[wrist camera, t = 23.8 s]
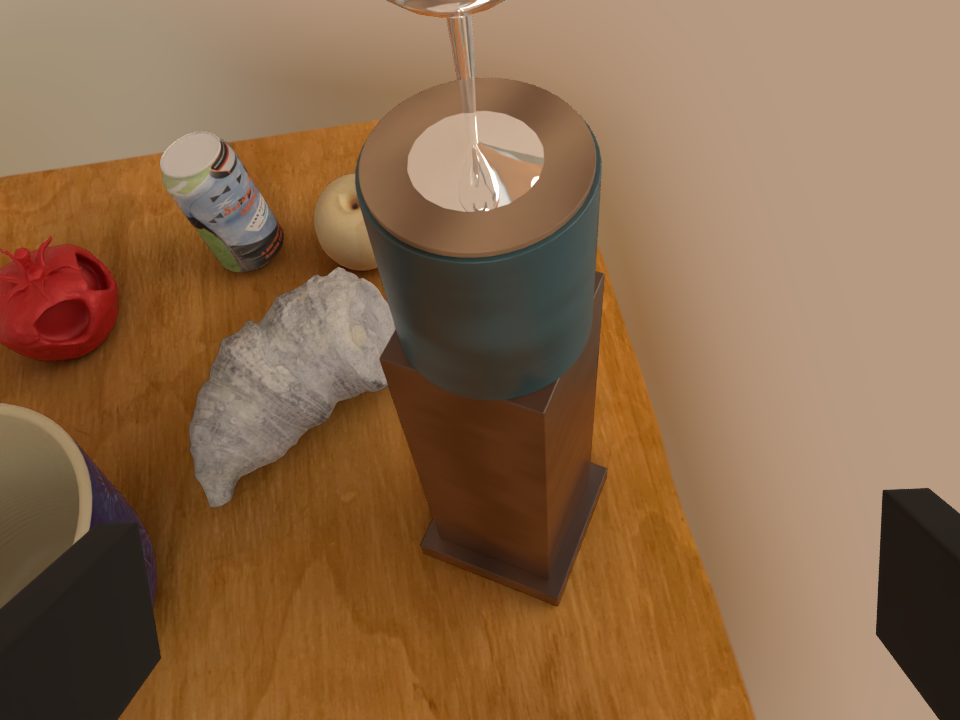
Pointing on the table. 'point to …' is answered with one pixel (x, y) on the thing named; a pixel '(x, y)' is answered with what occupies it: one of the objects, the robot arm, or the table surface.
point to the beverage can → (221, 201)
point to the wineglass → (471, 132)
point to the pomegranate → (56, 302)
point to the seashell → (287, 377)
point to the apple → (343, 226)
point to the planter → (51, 499)
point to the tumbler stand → (494, 339)
